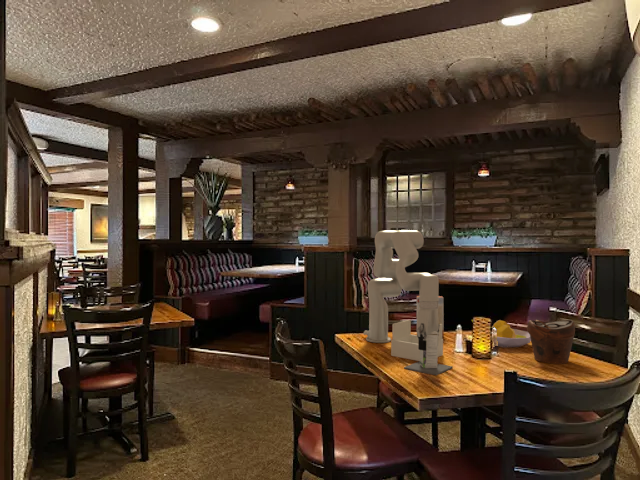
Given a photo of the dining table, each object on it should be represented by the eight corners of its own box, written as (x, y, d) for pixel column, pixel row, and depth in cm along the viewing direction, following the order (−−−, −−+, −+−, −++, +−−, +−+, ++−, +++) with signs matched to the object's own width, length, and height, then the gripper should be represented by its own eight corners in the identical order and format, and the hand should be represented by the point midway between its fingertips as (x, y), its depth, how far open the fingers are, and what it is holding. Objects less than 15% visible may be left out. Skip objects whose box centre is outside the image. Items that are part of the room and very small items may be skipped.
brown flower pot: (516, 357, 207) (517, 316, 206) (549, 353, 214) (550, 314, 214) (549, 368, 190) (550, 324, 190) (585, 363, 198) (586, 321, 197)
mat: (404, 368, 187) (404, 367, 187) (421, 361, 198) (421, 360, 198) (436, 375, 178) (436, 373, 178) (452, 368, 189) (452, 366, 189)
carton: (391, 355, 208) (391, 324, 208) (410, 349, 221) (410, 319, 221) (424, 362, 198) (425, 328, 198) (442, 354, 210) (443, 323, 210)
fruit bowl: (541, 344, 233) (541, 321, 233) (519, 353, 214) (519, 328, 214) (487, 336, 253) (487, 315, 253) (462, 343, 233) (462, 321, 233)
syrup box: (419, 364, 191) (419, 329, 191) (433, 364, 191) (433, 329, 191) (423, 368, 185) (423, 331, 185) (438, 368, 186) (438, 331, 186)
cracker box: (442, 333, 258) (442, 295, 258) (443, 336, 252) (444, 297, 252) (416, 333, 259) (416, 295, 259) (417, 335, 253) (417, 296, 253)
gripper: (430, 302, 197) (430, 342, 197) (409, 306, 184) (409, 350, 184) (447, 304, 192) (446, 345, 192) (426, 308, 179) (426, 353, 179)
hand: (428, 347), depth 188 cm, fingers open, 9 cm apart
